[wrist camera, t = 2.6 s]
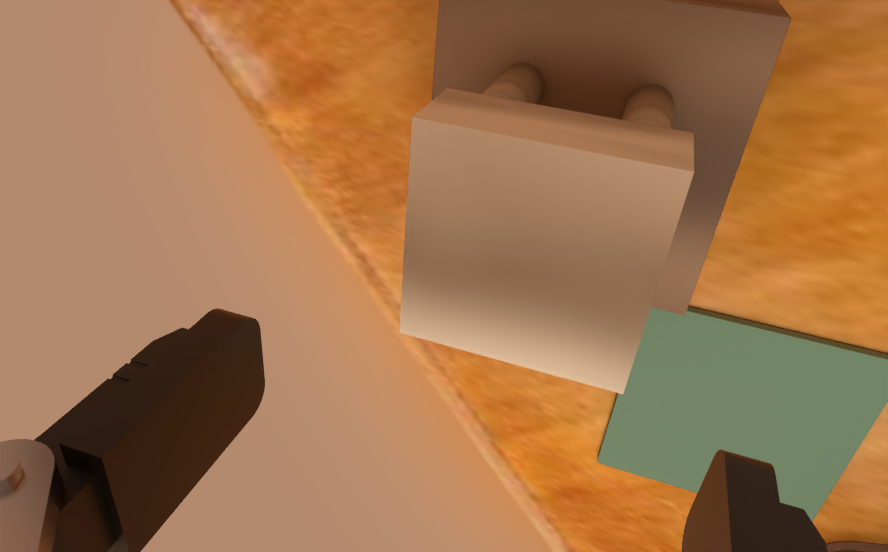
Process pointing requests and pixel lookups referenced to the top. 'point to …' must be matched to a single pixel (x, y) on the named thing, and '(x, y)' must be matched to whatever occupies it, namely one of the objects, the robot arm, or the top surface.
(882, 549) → the camera
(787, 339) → the pad
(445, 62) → the brown square block
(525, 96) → the cream studded brick
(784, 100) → the top surface
